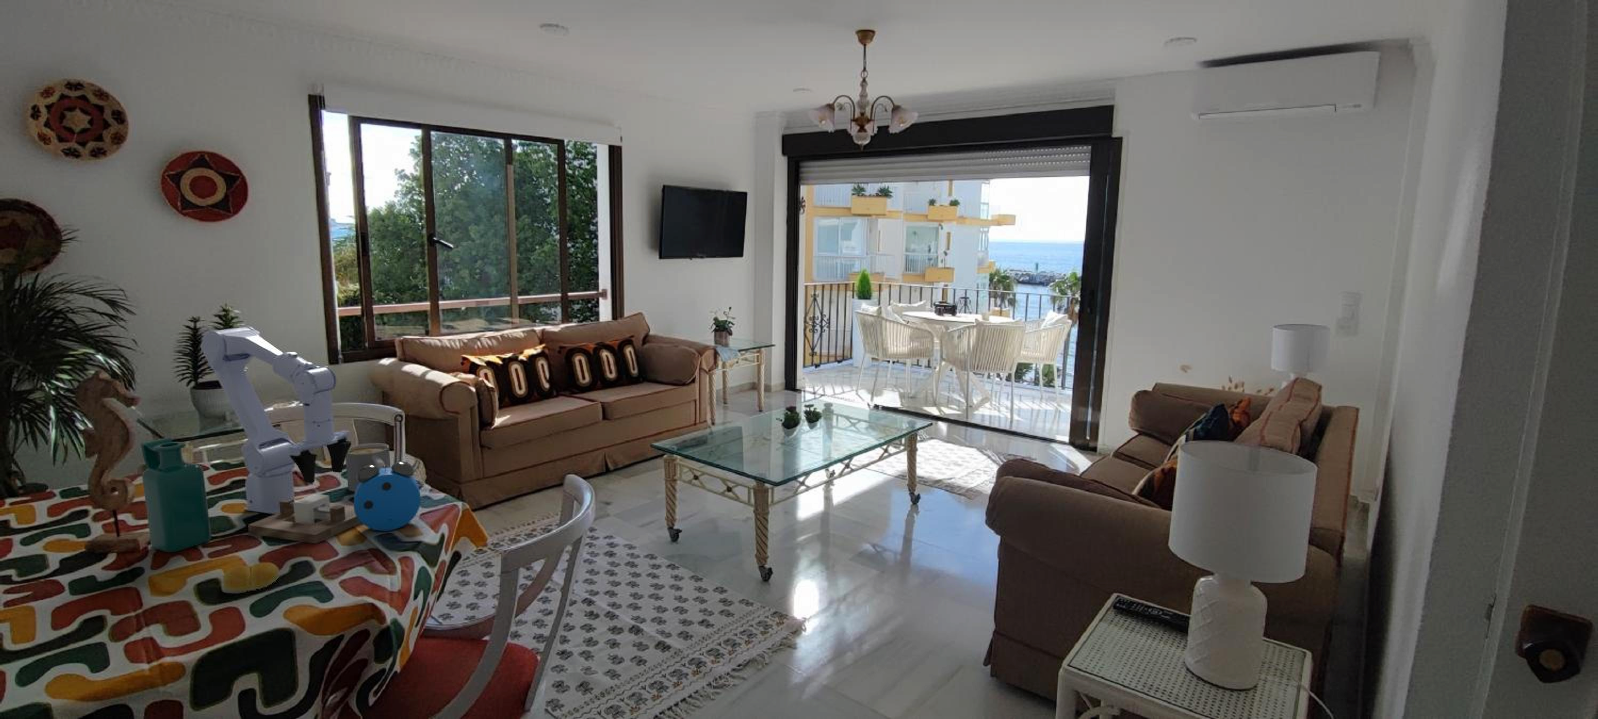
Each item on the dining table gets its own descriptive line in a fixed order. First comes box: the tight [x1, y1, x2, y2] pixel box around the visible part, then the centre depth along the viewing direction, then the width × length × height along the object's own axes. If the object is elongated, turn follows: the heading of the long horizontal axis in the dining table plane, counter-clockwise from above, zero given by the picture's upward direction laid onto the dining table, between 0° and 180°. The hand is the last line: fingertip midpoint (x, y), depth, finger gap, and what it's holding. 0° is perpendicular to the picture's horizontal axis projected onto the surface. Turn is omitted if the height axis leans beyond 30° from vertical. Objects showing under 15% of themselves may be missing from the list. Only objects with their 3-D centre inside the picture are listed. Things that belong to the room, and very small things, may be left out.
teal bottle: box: [140, 437, 212, 553], centre depth 160 cm, size 10×8×22 cm
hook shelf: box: [247, 499, 362, 544], centre depth 173 cm, size 18×16×5 cm
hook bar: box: [288, 502, 331, 514], centre depth 172 cm, size 14×1×1 cm, turn 76°
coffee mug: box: [345, 442, 392, 493], centre depth 197 cm, size 13×10×10 cm
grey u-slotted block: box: [293, 493, 331, 525], centre depth 173 cm, size 4×6×6 cm
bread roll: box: [221, 562, 281, 594], centre depth 145 cm, size 8×9×4 cm
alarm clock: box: [353, 460, 422, 532], centre depth 172 cm, size 13×6×15 cm, turn 119°
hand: (323, 476), depth 177 cm, fingers open, 7 cm apart
